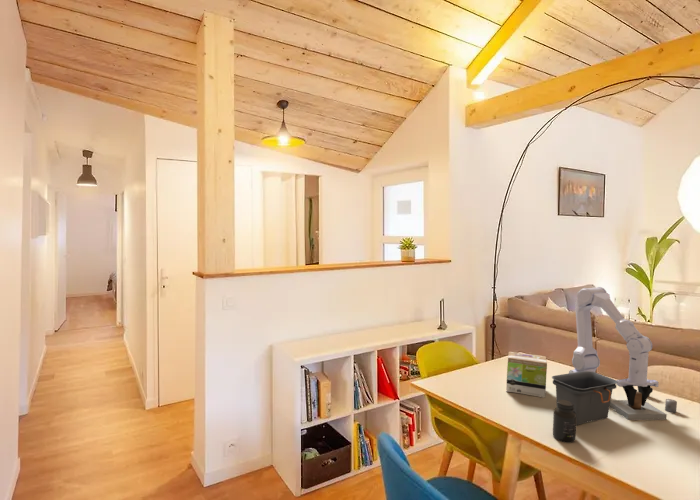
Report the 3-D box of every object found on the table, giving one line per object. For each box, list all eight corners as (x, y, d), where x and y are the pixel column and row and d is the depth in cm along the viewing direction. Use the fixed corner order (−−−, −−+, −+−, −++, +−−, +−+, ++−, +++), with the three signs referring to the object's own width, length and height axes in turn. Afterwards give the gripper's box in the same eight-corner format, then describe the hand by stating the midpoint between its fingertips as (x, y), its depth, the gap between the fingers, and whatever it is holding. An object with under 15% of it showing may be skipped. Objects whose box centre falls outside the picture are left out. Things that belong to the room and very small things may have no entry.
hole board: (627, 419, 153) (628, 414, 153) (607, 405, 165) (607, 400, 165) (666, 419, 154) (666, 414, 154) (643, 405, 166) (643, 400, 166)
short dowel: (669, 413, 159) (670, 402, 159) (662, 409, 162) (663, 398, 162) (678, 413, 159) (679, 402, 159) (671, 409, 163) (672, 398, 162)
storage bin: (586, 405, 166) (588, 369, 165) (625, 422, 151) (627, 383, 150) (545, 414, 157) (547, 376, 156) (583, 433, 143) (585, 392, 142)
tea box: (506, 392, 177) (507, 357, 176) (506, 383, 186) (508, 350, 185) (545, 398, 172) (547, 362, 171) (544, 389, 181) (546, 355, 180)
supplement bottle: (548, 433, 143) (549, 398, 142) (567, 432, 144) (569, 397, 143) (560, 443, 136) (561, 407, 136) (580, 442, 137) (582, 406, 136)
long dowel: (633, 412, 158) (634, 394, 158) (628, 408, 162) (629, 390, 161) (643, 413, 158) (644, 394, 157) (637, 409, 161) (638, 391, 161)
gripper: (625, 373, 154) (624, 409, 155) (665, 373, 155) (663, 409, 156) (613, 366, 161) (611, 401, 162) (651, 366, 162) (649, 401, 163)
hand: (636, 404), depth 159 cm, fingers closed on long dowel, 3 cm apart
